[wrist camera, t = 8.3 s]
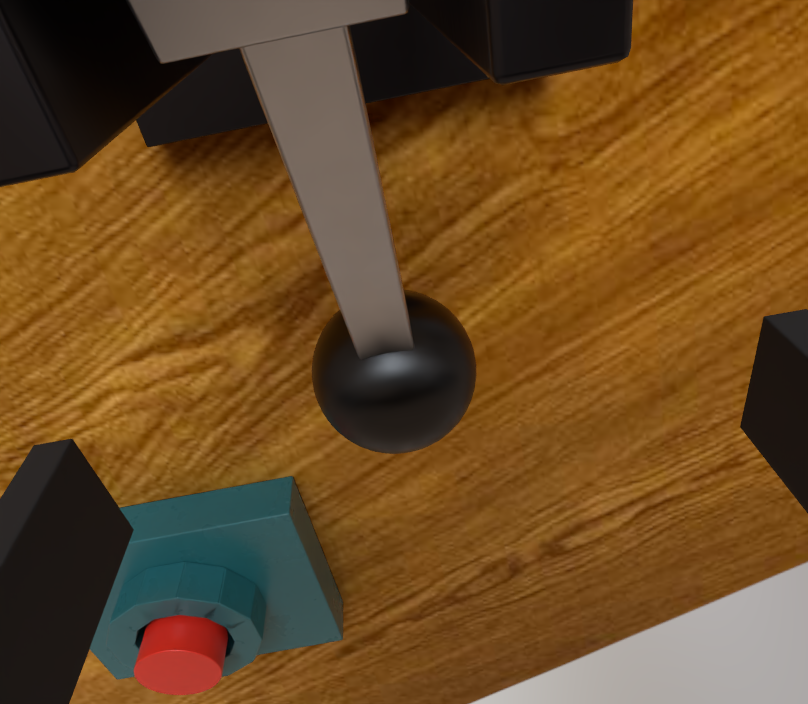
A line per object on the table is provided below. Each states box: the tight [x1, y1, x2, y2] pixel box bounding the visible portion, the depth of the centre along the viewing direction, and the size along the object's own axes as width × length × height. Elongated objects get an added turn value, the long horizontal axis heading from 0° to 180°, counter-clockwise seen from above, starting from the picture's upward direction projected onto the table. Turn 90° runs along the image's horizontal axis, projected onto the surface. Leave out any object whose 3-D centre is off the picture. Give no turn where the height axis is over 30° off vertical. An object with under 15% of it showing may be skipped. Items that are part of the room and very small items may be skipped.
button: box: [134, 615, 228, 695], centre depth 26 cm, size 4×4×2 cm
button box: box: [90, 476, 343, 679], centre depth 28 cm, size 12×10×4 cm
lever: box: [126, 0, 476, 454], centre depth 9 cm, size 13×4×4 cm, turn 10°
